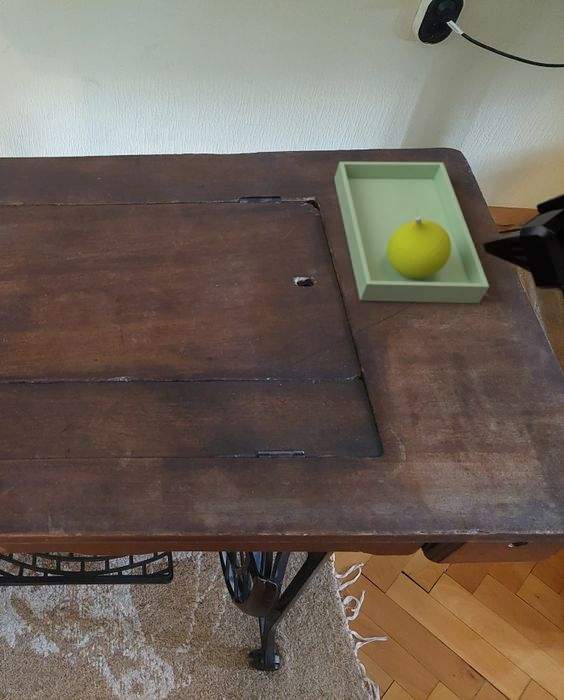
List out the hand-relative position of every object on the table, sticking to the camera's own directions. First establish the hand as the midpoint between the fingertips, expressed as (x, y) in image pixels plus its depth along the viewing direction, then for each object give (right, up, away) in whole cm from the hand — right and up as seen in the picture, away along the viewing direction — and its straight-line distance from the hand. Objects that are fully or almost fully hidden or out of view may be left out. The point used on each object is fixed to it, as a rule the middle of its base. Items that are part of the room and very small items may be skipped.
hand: (512, 227), depth 68 cm
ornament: (-4, -3, +15) cm, 15 cm away
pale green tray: (-3, +2, +19) cm, 19 cm away
